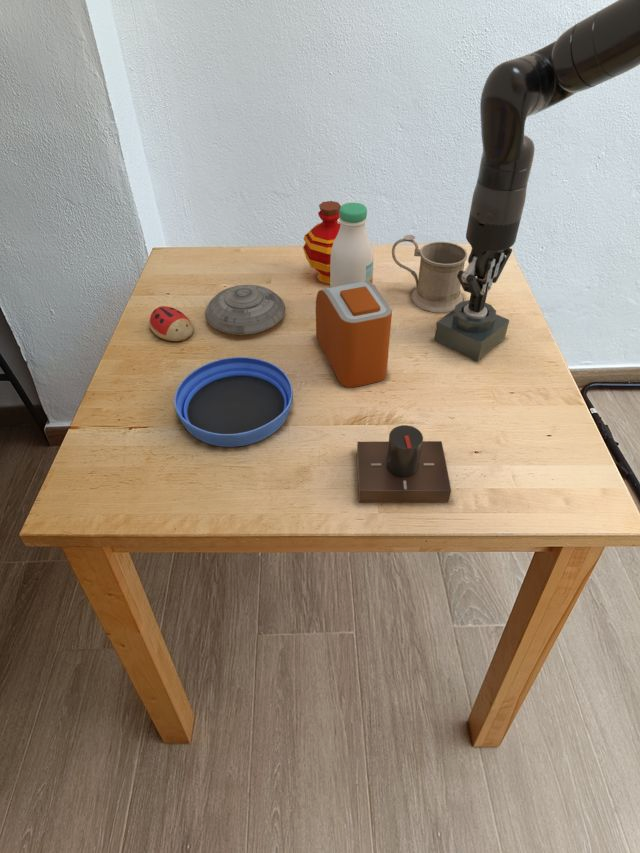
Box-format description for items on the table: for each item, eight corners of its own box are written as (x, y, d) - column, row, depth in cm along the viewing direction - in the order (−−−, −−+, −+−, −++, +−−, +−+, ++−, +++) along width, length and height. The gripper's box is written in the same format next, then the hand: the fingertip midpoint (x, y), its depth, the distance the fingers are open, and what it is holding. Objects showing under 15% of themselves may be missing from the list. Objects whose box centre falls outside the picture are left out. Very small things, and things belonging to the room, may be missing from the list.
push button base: (504, 338, 104) (512, 310, 99) (477, 362, 99) (483, 333, 95) (462, 319, 108) (467, 290, 104) (433, 340, 103) (438, 312, 99)
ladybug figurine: (173, 349, 103) (169, 332, 100) (140, 327, 108) (136, 311, 105) (202, 332, 106) (199, 315, 104) (169, 311, 111) (166, 295, 109)
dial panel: (439, 452, 84) (441, 440, 83) (448, 502, 78) (451, 489, 76) (356, 453, 85) (357, 440, 83) (359, 502, 78) (360, 490, 76)
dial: (383, 454, 81) (386, 424, 77) (415, 451, 81) (419, 422, 77) (389, 478, 78) (392, 449, 74) (421, 475, 78) (426, 446, 74)
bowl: (249, 468, 83) (246, 452, 80) (154, 423, 90) (149, 406, 87) (315, 395, 94) (314, 378, 91) (226, 360, 100) (223, 343, 98)
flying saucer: (295, 300, 113) (294, 275, 109) (272, 346, 103) (269, 320, 99) (223, 290, 116) (219, 266, 112) (193, 334, 106) (188, 308, 102)
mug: (464, 288, 115) (475, 231, 107) (460, 315, 109) (471, 257, 100) (392, 279, 118) (397, 223, 110) (384, 306, 111) (388, 248, 103)
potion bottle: (356, 264, 122) (358, 194, 112) (353, 291, 115) (355, 219, 105) (306, 263, 123) (304, 193, 113) (300, 289, 116) (297, 217, 105)
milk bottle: (355, 326, 107) (359, 222, 93) (322, 311, 110) (320, 209, 96) (378, 306, 111) (385, 205, 97) (345, 293, 115) (347, 193, 100)
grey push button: (489, 319, 101) (492, 309, 99) (477, 329, 99) (479, 319, 97) (470, 310, 103) (472, 300, 101) (457, 320, 100) (459, 310, 99)
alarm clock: (391, 379, 96) (398, 309, 87) (343, 390, 94) (344, 320, 85) (360, 329, 106) (363, 262, 97) (315, 338, 104) (314, 270, 95)
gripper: (497, 190, 92) (477, 286, 104) (449, 218, 85) (434, 317, 98) (540, 203, 88) (515, 301, 101) (494, 235, 82) (473, 335, 94)
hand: (475, 309), depth 99 cm, fingers closed
